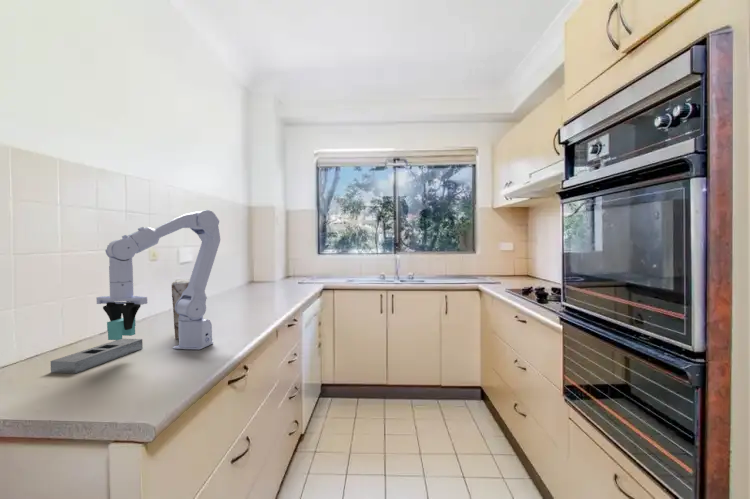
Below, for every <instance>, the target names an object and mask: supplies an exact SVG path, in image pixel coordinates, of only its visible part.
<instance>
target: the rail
mask: <svg viewBox="0 0 750 499" xmlns="http://www.w3.org/2000/svg"><path fill="white" fill-rule="evenodd" d="M142 349H143V339H142V338H122V339H120V340H111V341H110V342H109V341H108V342H106V343H103V344H100V345H96V346H94V347H91V348H87V349H85V350H81V351H78V352H75V353H72V354H69V355H66V356H61V357H60V358H59V357H58V358H56V359H53V360H50V373H54V374H56V373H57V374H78V373H81V372H83V371H86V370H88V369H91V368H94V367H96V366H100V365H102V364H105V363H107V362H111V361H113V360H115V359H118V358H121V357H124V356H126V355H129V354H132V353H134V352H136V351H137V352H138V351H139V350H142Z"/></svg>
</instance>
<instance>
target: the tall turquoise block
mask: <svg viewBox="0 0 750 499" xmlns="http://www.w3.org/2000/svg"><path fill="white" fill-rule="evenodd" d="M136 325H137V324H136V317H135V318H134V322H133V326H132V329H129V330H125V329H124V321H123V317H121V319H117V320H113V321H110V320H109V321H107V322H106V327H107V328H106V329H107V330H106V332H107V340H108V341H115V340H120V339H123V336H127V337H128V336H129V337H130V336H131V337H132V336H135V335H136Z"/></svg>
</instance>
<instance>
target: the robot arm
mask: <svg viewBox="0 0 750 499" xmlns="http://www.w3.org/2000/svg"><path fill="white" fill-rule="evenodd" d="M219 225H220V220H219V218H218V217H217V215H216V214H215V213H214V211H211V210H210V209H205V210H199V211H191V212H189V213H184V214H183V215H180V216H177V217H175V218H173V219H170V220H169V221H167V222H165V223H163V224H161V225H158V226H157V227H155V228H154V227H153V228H152V227H149V226H145V227H144V226H142V227H139V228H137V231H135V232H132V233H131V234H128V235H127V234H124V235H121V239H115V240H113V241H110V242H109V243H108V245H107V247H106V249H105V254H106V256H107V257H108V258H109V263H108V264H109V266H108V272H109V273H108V274H109V275H108V276H109V277H108V278H109V279H108V280H109V296H102V295H101V296H97V297H96V305H101V304H105V305H103V306H102V309H103V311H104V312H105V313H106V315H107V316H108V318H109V322H110V321H113V320H117V319H121V318H123V321H124V329H125V330H129V329H132V326H133V322H134V318H135V319H136V316H137V313H138V311H139V310H140V308H141V305H148V296H140V295H139V296H137V295H134V267H133V258H134V256H135V255H136V254H140V253H141V252H143V251H145V250H147V249H149V248H151V247H153V246H156V245H157V244H159V241H160V239H161V238H163V237H166V236H167V235H170V234H173V233H174V232H177V231H179V230H181V229H190V230H191V231H192V232H194V233H195V234H196V235H197V236H198V237H199V240H200V241H201V244H200V248H199V250H198V252H197V256H196V260H195V262H194V266H193V268H192V271H191V275H190V278H189V279H190V281H189V284H188V287H187V288H186V289H185V290H184V291H183V293H182V295H181V297H180V299H179V300H178V301H177V302H176V304H175V311H176V312H177V314H179V318H178V325H179V339H178V345H175V346H173V347H172V349H173V350H175V349H176V350H198V351H199V350H202V349H204V348H206V347H208V346H211V345H212V344H214V341H213V327H212V326H213V325H212V322H211V320H209V319H207V318H204V316H205V313H206V311H207V305H206V303H207V300H208V298H207V297H208V296H207V294H206V288H207V284H208V281H209V278H210V275H211V272H212V269H213V266H214V263H215V260H216V256H217V253H218V249H219V246H220V243H221V235H220V228H219Z"/></svg>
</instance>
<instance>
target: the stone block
mask: <svg viewBox="0 0 750 499" xmlns="http://www.w3.org/2000/svg"><path fill="white" fill-rule="evenodd" d="M189 281H190V278H189V279H187V278H186V279H185V278H184V279H181V278H180V279H176V280H175V281H172V282H171V297H172V298H171V299H172V300H171V301H172V310H173V311H172V312H173V324H174V325H173V329H174V339H176V340H177V339H178V340H179V325H178V318H179V314H177V312H176V311H175V304H176V302H177V301H178V300H179V299H180V297H181V295H182V293H183V291H184V290H185V289H186V288H187V287H188V284H189Z"/></svg>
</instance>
